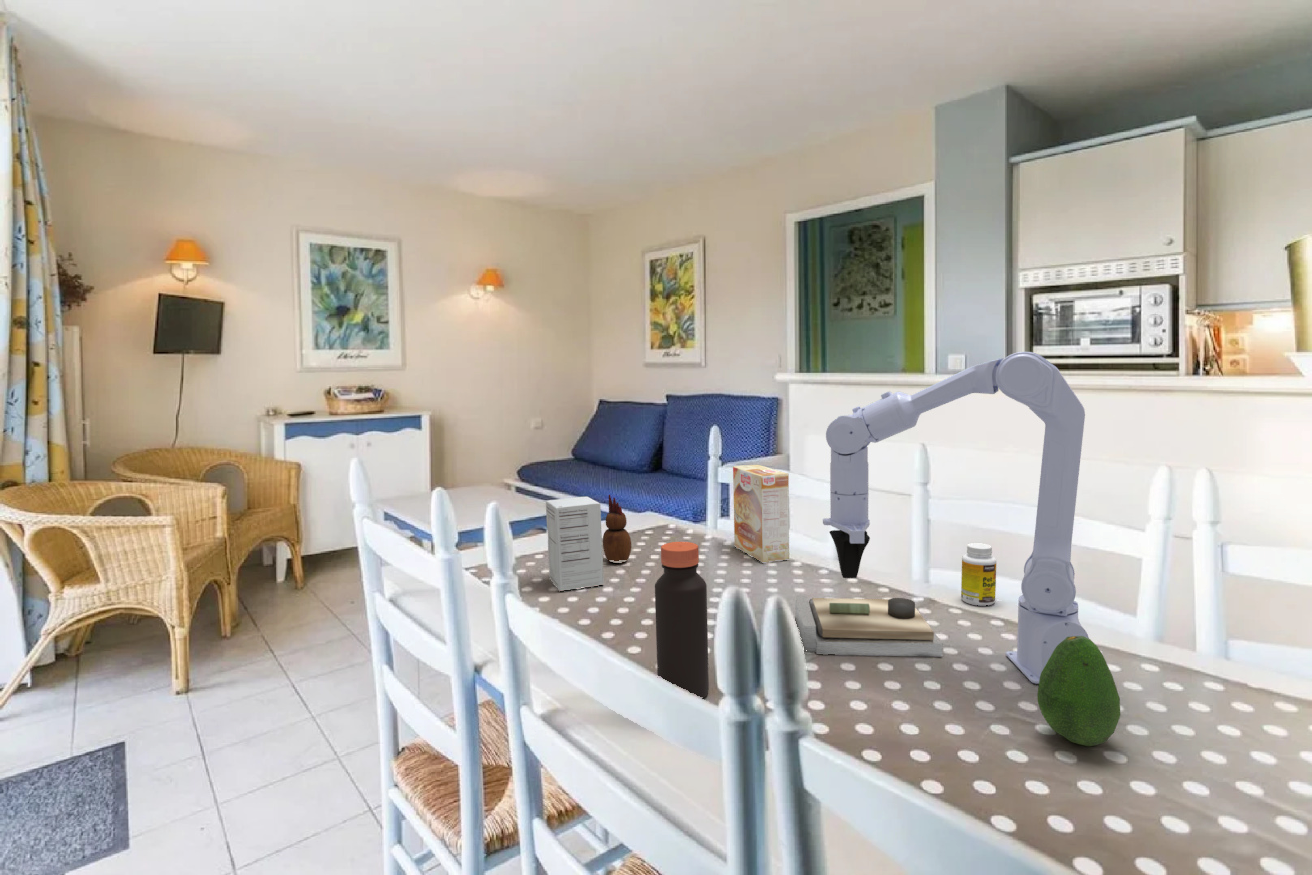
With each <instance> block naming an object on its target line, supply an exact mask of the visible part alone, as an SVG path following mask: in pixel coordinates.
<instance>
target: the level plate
mask: <svg viewBox="0 0 1312 875" xmlns="http://www.w3.org/2000/svg"><path fill="white" fill-rule="evenodd" d="M808 603H809V605H810V608H811V611H812V614H813V617H814V621H815V624H816V627H817V630H818V633H819V635H821V636H823V637H836V638H877V639H917V640H934V633H935V631H934V630H933V628H932V627H931V626H930V625H929V623H928V622H927V621H926V619H925V618H924V616H922V614H921V613H920V611H919V609H917V607H916V602H915V601H914V600H912V599H909V598H904V597H903V598H902V597H892V598H889V599H888V598H887V599H885V598H843V597H842V598H841V597H840V598H836V597H834V598H833V597H832V598H831V597H829V598H828V597H826V598H825V597H812V598H810V599H809V600H808ZM924 619H925V620H924ZM927 623H928V624H927ZM930 627H931V628H930ZM933 631H934V632H933Z"/></svg>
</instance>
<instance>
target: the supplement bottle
mask: <svg viewBox="0 0 1312 875" xmlns="http://www.w3.org/2000/svg"><path fill="white" fill-rule="evenodd" d="M992 554H993V547H992V546H991V545H990V544H987V543H981V542H971V543H968V544H967V545H966V553H965V554H963V555H962V558H961V583H960V585H961V586H960V587H961V588H960V589H961V590H960V597H961V600H962V602H964V603H967V604H969V605H973V606H977V605H978V607H980V606H982V607H986V605H988V606H991V605H993V604H995V602H996V590H997V589H996V588H997V584H996V583H997V559H996V557H995V556H993V555H992Z"/></svg>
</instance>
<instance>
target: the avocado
mask: <svg viewBox="0 0 1312 875" xmlns="http://www.w3.org/2000/svg"><path fill="white" fill-rule="evenodd" d="M1036 695H1037V703H1038V707H1039V710H1040V712H1041V715H1042V716H1043V718H1044V719H1045V721H1046V723H1047V725H1048V726H1049V727H1050V728H1051V729H1052V730H1053V731H1054V733H1057V734H1058V735H1060V736H1062V737H1063V738H1065V739H1066V740H1067V741H1069V742H1071V743H1073V744H1076V745H1079V746H1085V747H1093V746H1096V745H1101V744H1104V743H1105V742H1107V740H1108V739H1109V738H1110V737H1111V736H1112V735H1113V734H1114V733H1115V731H1116V729H1117V725H1118V723H1119V721H1120V718H1121V716H1122V715H1121V703H1120V702H1121V701H1120V695H1119V692H1118V689H1117V686H1116V683H1115V680H1114V677H1113V673H1112V672H1111V670H1110V668H1109V665H1108V663H1107V661H1106V659H1105V656H1104V655H1103V653H1102V652H1101V650H1100V648H1099V647H1098V646H1097V644H1095V642H1093V640H1092V639H1090V638H1089V639H1088V638H1086V637H1084V636H1073V637H1067V638H1066V639H1065V640H1063V641H1062V642H1061V643H1059V644H1058V645H1057V647H1056V648H1055V650H1054V651H1053V653H1052V655H1051V657H1050V658H1049V660H1048V662H1047V664H1046V665H1045V667H1044V669H1043V671H1042V672H1041V675H1040V680H1039V684H1038V687H1037V694H1036Z"/></svg>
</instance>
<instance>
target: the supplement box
mask: <svg viewBox="0 0 1312 875" xmlns="http://www.w3.org/2000/svg"><path fill="white" fill-rule="evenodd" d="M601 508H602V507H601V503H600V502H598V501H597V500H594V499H593V498H591V497H590V496H578V497H576V496H575V497H569V498H558V499H549V500H545V512H546V513H545V514H546V530H547V550H548V551H547V554H548V572H549V573H548V574H549V577H550V578H551V580H552V582H553V583H554V584H555V586H557V588H558V589H557V588H556V589H557V590H558V591H559V590H570V589H576V588H581V587H585V586H594V585H600V584H603V583H605V582H604V581H605V580H604V579H605V578H604V559H603V557H604V556H603V535H602V532H603V531H602V512H601V511H602V510H601ZM550 578H549V579H550ZM552 582H551V583H552ZM553 583H552V584H553ZM554 584H553V585H554ZM555 586H554V587H555Z"/></svg>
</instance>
